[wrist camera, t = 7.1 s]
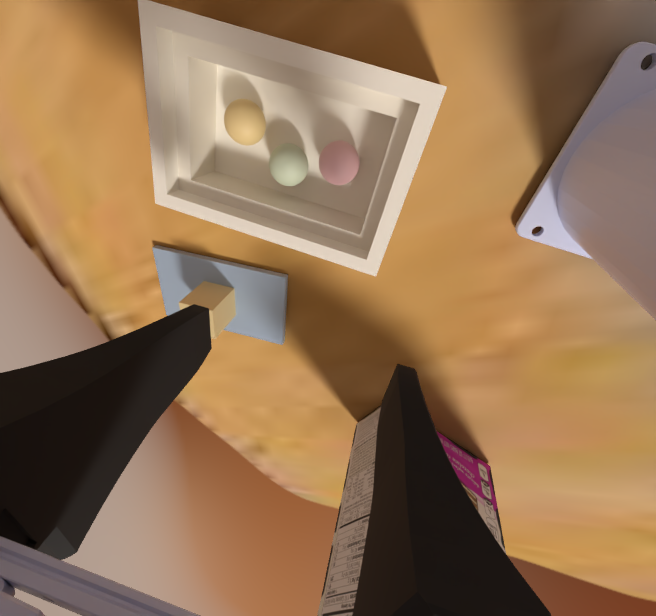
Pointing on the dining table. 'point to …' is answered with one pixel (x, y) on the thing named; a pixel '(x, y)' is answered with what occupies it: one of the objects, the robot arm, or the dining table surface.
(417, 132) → the box
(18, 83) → the dining table surface
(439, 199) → the dining table surface
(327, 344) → the dining table surface
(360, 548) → the candy bar box
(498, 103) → the dining table surface
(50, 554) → the robot arm
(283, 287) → the lid
